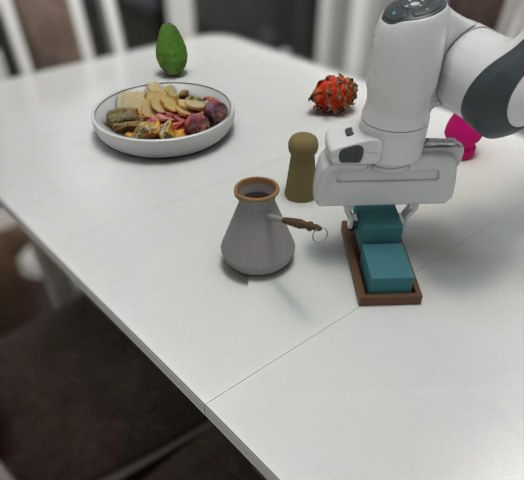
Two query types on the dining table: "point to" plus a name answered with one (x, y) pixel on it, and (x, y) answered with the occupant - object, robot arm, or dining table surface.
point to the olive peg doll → (301, 167)
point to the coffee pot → (260, 229)
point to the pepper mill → (462, 135)
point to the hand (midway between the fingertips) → (375, 226)
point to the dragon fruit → (334, 94)
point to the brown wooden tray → (362, 297)
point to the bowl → (163, 118)
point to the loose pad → (378, 225)
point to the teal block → (385, 269)
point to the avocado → (171, 50)
